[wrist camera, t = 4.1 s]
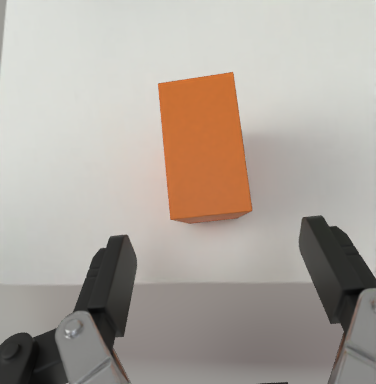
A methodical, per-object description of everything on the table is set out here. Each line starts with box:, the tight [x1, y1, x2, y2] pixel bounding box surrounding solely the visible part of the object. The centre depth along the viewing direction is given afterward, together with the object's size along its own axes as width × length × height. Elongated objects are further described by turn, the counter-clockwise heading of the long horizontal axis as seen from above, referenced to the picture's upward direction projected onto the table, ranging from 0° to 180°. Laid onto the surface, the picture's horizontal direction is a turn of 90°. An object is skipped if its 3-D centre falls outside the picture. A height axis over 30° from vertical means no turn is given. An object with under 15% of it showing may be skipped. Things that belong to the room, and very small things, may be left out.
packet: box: [158, 72, 252, 223], centre depth 20 cm, size 4×8×10 cm, turn 6°
